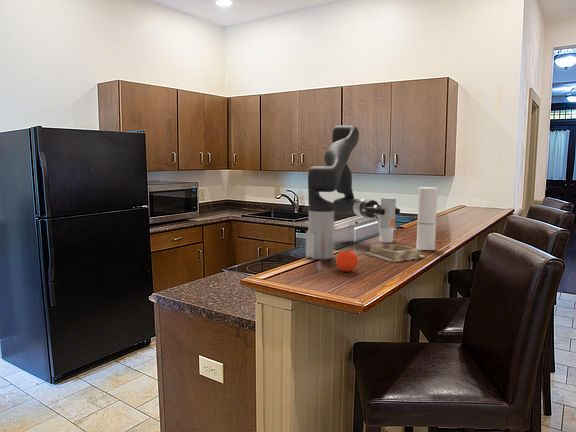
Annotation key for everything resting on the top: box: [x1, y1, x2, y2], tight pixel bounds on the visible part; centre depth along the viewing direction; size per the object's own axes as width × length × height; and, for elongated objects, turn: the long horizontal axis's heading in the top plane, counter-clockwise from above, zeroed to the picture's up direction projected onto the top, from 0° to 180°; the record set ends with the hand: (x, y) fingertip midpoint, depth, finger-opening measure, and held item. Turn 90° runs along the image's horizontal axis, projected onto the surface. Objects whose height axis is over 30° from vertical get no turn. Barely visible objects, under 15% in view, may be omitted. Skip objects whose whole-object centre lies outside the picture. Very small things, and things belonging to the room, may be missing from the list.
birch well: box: [364, 243, 426, 263], centre depth 169 cm, size 16×15×3 cm
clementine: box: [335, 249, 359, 273], centre depth 144 cm, size 8×7×7 cm
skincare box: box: [379, 197, 397, 229], centre depth 180 cm, size 6×4×12 cm
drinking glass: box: [378, 218, 395, 244], centre depth 201 cm, size 7×7×10 cm
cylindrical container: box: [415, 186, 439, 251], centre depth 182 cm, size 7×7×25 cm
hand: (391, 211), depth 178 cm, fingers closed on skincare box, 7 cm apart
